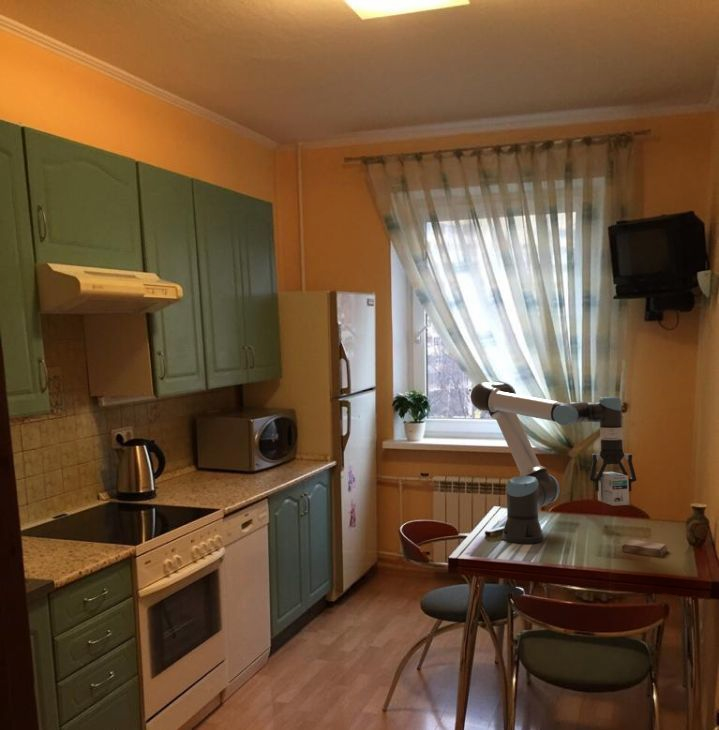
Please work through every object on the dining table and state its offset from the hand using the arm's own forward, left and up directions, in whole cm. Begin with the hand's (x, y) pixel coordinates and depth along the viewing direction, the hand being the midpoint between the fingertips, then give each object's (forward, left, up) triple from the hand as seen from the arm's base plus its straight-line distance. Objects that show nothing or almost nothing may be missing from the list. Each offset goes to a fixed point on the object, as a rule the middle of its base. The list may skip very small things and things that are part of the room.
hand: (613, 500), depth 243 cm
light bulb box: (0, 0, -1) cm, 1 cm away
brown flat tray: (+11, 0, -17) cm, 20 cm away
